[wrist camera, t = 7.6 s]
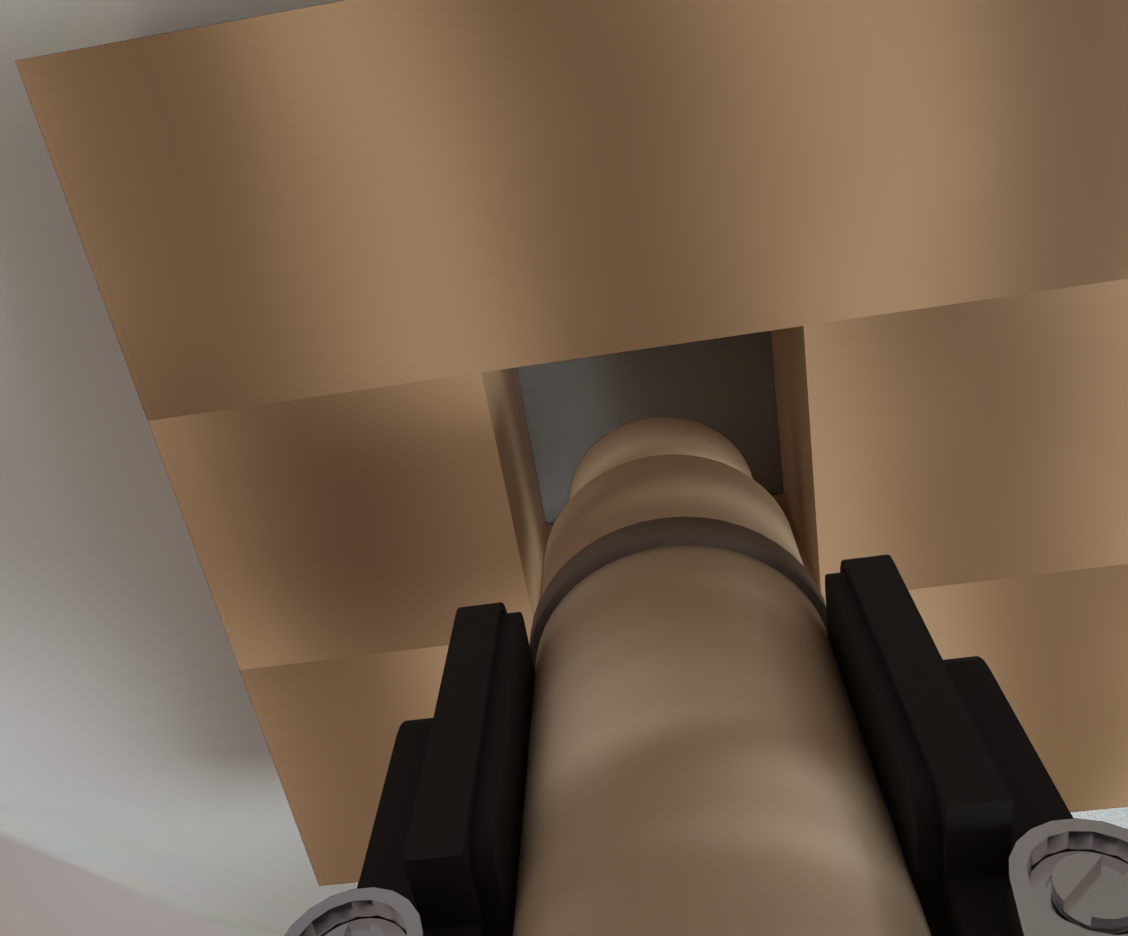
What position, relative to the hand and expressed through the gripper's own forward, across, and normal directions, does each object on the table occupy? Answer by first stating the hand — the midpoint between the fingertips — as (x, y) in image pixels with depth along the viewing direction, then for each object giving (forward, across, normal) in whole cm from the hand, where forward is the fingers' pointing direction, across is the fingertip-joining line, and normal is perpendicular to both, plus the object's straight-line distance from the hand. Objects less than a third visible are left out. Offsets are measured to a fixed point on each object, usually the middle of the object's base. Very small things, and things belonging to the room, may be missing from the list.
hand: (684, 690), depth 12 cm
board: (+9, 0, 0) cm, 9 cm away
